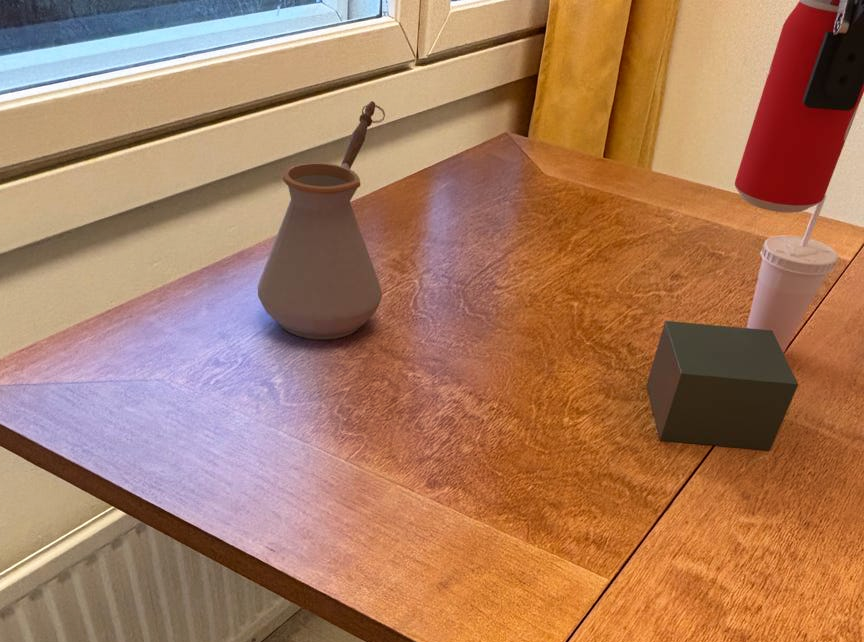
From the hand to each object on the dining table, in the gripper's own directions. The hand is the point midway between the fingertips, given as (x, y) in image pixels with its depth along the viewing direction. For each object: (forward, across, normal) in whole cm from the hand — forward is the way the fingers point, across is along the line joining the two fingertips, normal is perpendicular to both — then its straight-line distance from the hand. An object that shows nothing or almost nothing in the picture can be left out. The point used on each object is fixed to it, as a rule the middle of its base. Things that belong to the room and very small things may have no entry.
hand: (814, 90), depth 59 cm
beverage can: (+7, 0, 0) cm, 7 cm away
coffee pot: (+24, +15, +34) cm, 44 cm away
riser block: (+24, -1, 0) cm, 24 cm away
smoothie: (+24, +12, -8) cm, 28 cm away
